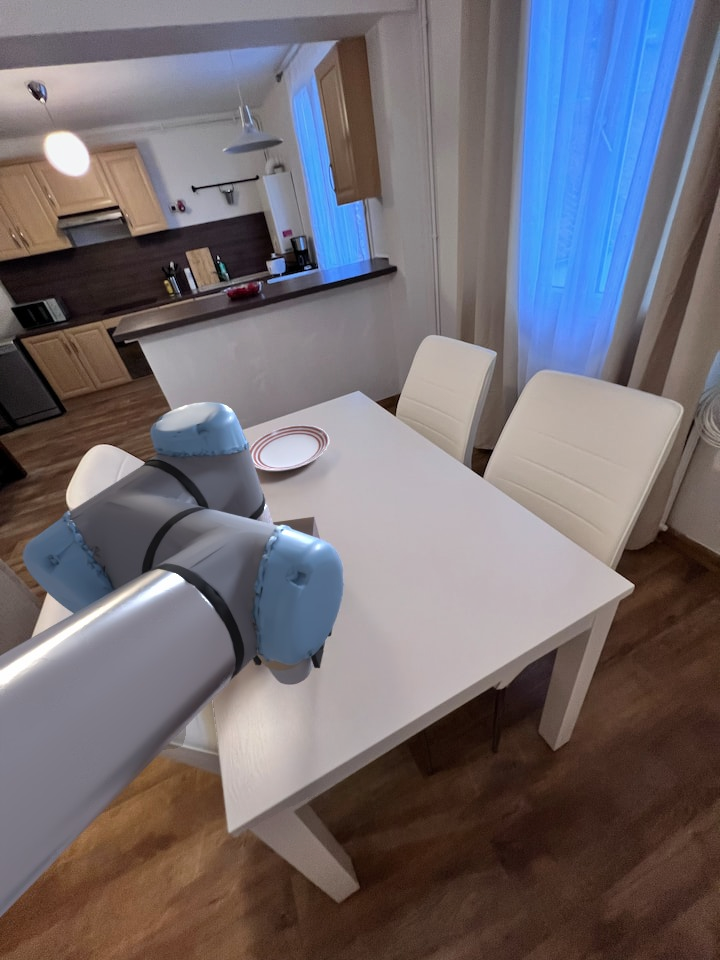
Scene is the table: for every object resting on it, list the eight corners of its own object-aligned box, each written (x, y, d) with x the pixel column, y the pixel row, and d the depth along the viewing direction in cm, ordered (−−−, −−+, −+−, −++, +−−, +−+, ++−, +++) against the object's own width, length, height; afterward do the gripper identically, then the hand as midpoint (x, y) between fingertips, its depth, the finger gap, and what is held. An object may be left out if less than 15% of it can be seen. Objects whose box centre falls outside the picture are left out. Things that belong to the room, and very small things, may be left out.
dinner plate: (337, 464, 125) (335, 455, 123) (250, 486, 122) (246, 477, 120) (323, 426, 147) (322, 418, 145) (249, 443, 144) (246, 435, 142)
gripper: (340, 517, 45) (365, 636, 58) (173, 519, 49) (231, 631, 62) (328, 567, 39) (358, 688, 52) (139, 566, 43) (211, 679, 56)
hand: (289, 657), depth 57 cm, fingers closed on coffee cup, 8 cm apart
